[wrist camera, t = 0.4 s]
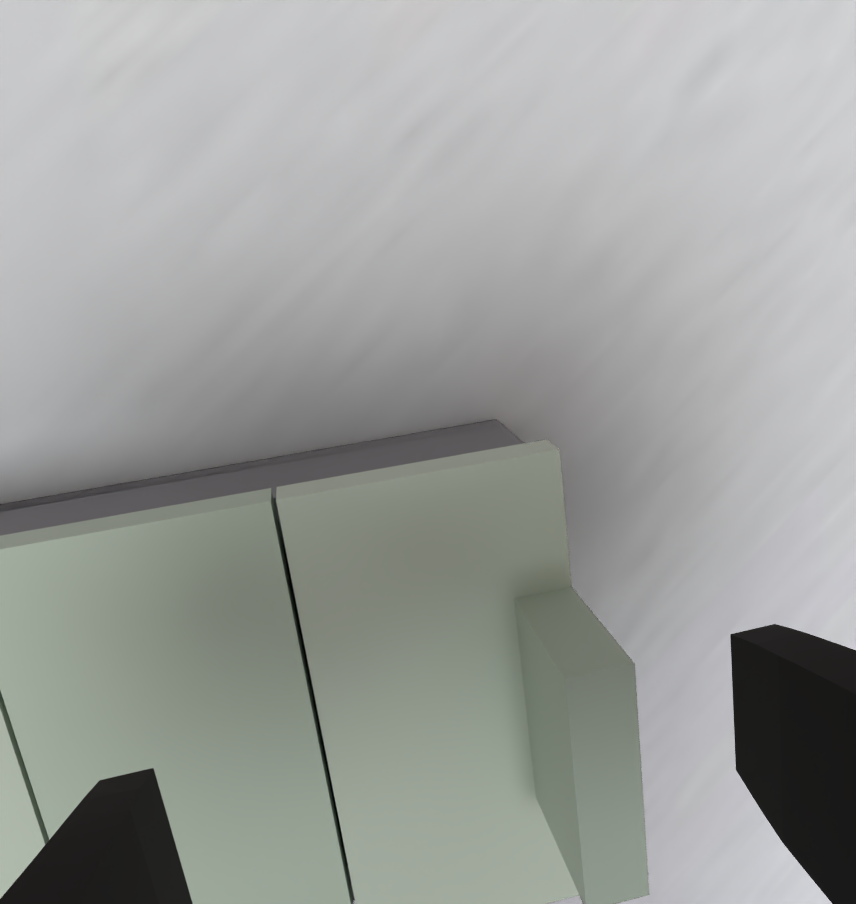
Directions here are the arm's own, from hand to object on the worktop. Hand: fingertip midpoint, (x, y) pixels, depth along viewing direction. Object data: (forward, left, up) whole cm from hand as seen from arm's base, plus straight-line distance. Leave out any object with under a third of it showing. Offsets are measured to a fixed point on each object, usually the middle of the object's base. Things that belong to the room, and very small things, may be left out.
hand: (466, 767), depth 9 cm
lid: (-3, +5, -7) cm, 9 cm away
